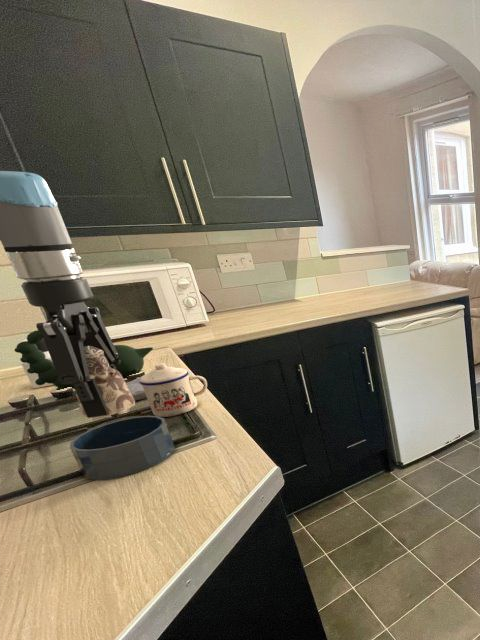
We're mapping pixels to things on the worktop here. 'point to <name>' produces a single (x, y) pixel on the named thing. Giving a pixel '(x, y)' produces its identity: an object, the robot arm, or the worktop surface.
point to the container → (34, 376)
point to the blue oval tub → (122, 447)
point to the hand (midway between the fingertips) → (108, 406)
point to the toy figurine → (46, 370)
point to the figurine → (107, 382)
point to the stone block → (136, 389)
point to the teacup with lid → (170, 390)
